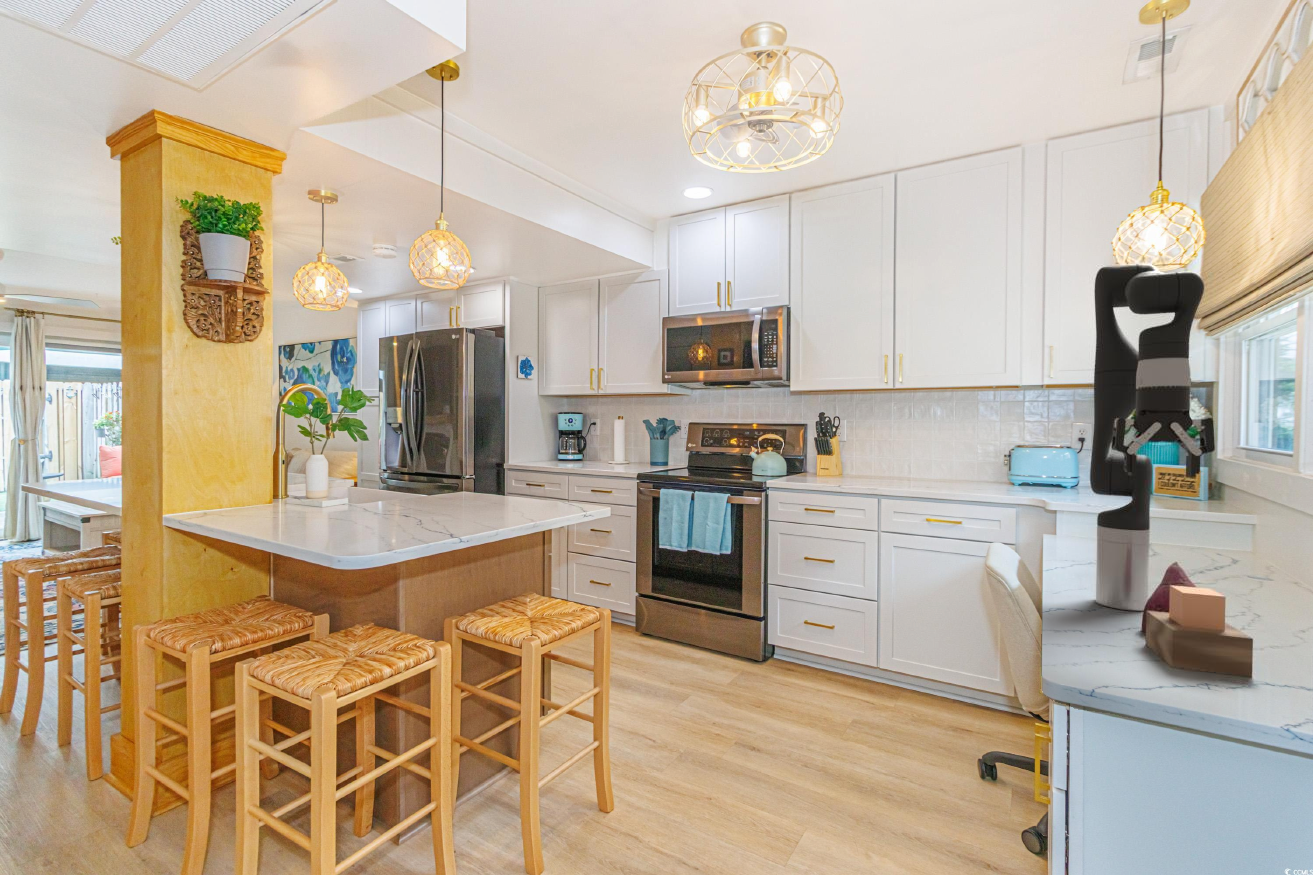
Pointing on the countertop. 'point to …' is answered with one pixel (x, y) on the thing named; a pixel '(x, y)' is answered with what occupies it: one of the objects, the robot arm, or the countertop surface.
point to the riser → (1199, 646)
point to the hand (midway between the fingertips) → (1160, 476)
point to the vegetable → (1166, 591)
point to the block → (1197, 607)
